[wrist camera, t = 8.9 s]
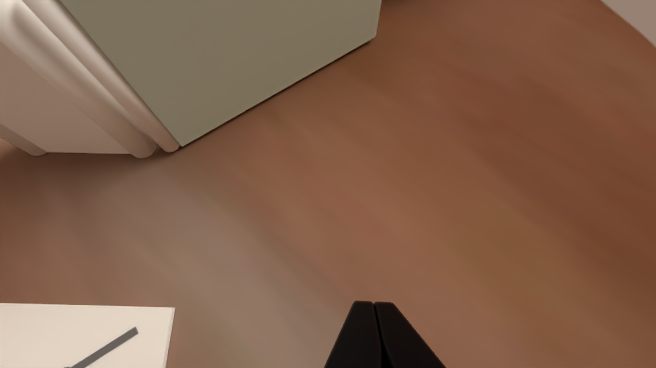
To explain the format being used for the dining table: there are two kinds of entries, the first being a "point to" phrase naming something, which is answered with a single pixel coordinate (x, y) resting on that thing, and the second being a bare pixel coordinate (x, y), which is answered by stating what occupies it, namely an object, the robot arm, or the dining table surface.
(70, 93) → the fence fixed section
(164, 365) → the card
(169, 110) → the panel
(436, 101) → the dining table surface
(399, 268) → the dining table surface
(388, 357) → the robot arm
